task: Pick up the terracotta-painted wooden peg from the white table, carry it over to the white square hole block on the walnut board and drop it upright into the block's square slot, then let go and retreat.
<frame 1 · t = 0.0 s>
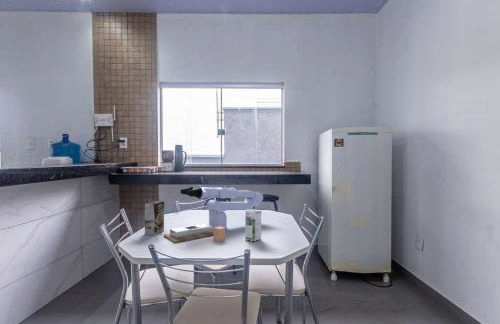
hand: (183, 192, 144), 22 cm above the table, tool horizontal, fingers open, 7 cm apart
peg: (219, 240, 134), on the table
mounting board: (191, 235, 142), on the table
coffee box: (154, 232, 147), on the table
syrup box: (253, 240, 135), on the table
white square hole block: (191, 230, 142), on the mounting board, point 2 cm above the table
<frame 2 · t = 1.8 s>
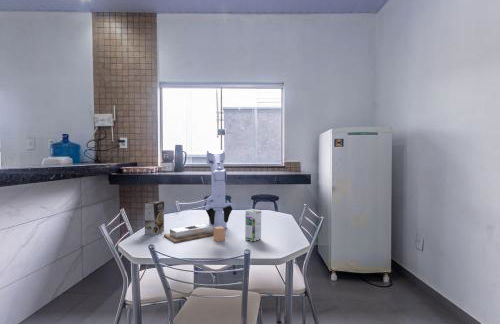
hand: (219, 223, 134), 8 cm above the table, tool pointing down, fingers open, 7 cm apart
nothing on the table moved.
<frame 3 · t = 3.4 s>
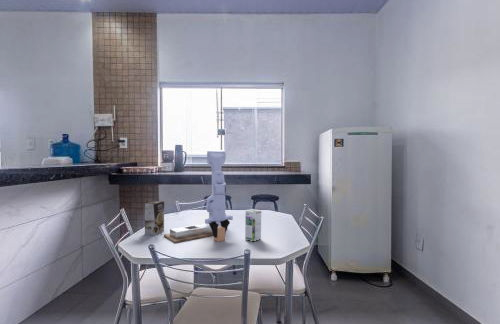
hand: (219, 236, 134), 2 cm above the table, tool pointing down, fingers closed on peg, 4 cm apart
peg: (219, 239, 134), on the table, touching gripper
everything else where it was.
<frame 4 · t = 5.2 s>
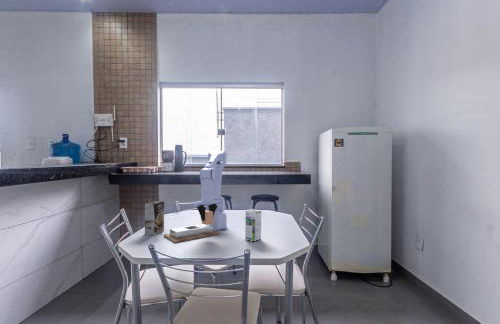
hand: (207, 220, 138), 9 cm above the table, tool pointing down, fingers closed on peg, 4 cm apart
peg: (207, 223, 138), point 7 cm above the table, touching gripper
everything else where it was.
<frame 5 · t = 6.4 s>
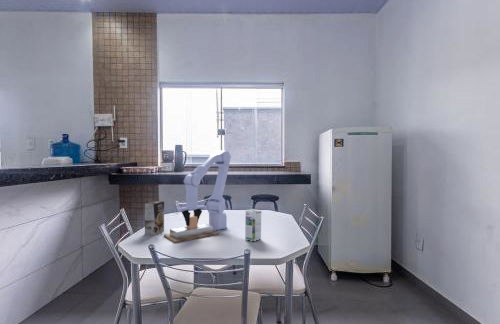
hand: (191, 224, 142), 5 cm above the table, tool pointing down, fingers closed on peg, 4 cm apart
peg: (192, 228, 142), point 4 cm above the table, touching gripper
everything else where it was.
when the fingers open (5 cm above the table, at t = 7.4 s): peg drops 2 cm, resting on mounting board.
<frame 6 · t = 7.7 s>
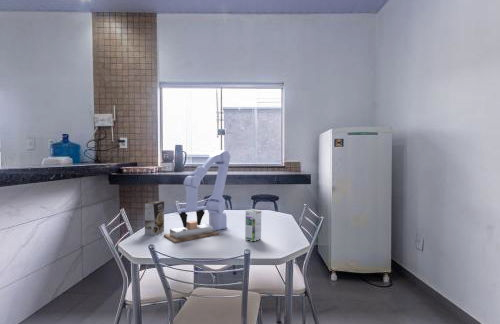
hand: (191, 226, 142), 5 cm above the table, tool pointing down, fingers open, 7 cm apart
peg: (191, 233, 142), point 1 cm above the table, touching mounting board
everything else where it was.
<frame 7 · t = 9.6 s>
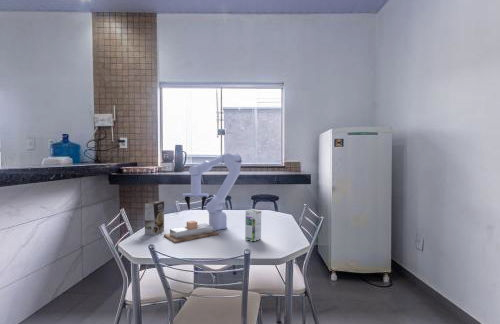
hand: (195, 209, 162), 9 cm above the table, tool pointing down, fingers open, 7 cm apart
nothing on the table moved.
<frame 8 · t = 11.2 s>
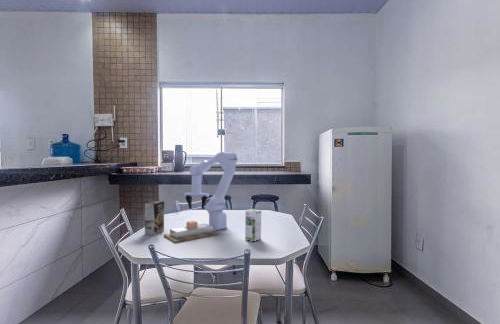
hand: (196, 208, 166), 9 cm above the table, tool pointing down, fingers open, 7 cm apart
nothing on the table moved.
at the end: peg 0.3 cm off-centre on the white square hole block, point 1.0 cm above the white square hole block's base; peg tilted 0°; the gripper is holding nothing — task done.
